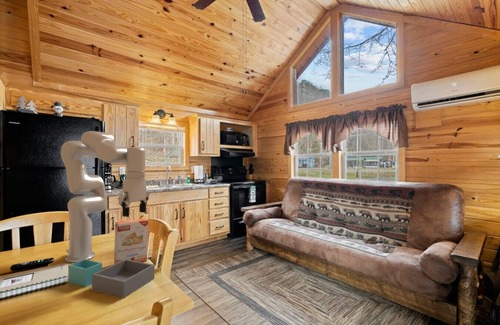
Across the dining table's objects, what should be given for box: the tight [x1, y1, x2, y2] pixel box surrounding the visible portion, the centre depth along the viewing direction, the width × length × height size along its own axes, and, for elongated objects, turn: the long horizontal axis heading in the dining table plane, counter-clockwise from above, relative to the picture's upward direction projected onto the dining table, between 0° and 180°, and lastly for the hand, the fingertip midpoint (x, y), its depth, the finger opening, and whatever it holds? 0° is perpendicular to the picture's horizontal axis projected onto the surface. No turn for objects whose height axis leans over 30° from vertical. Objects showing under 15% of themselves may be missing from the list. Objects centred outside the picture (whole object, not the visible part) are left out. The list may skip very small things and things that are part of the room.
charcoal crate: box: [91, 259, 156, 299], centre depth 99 cm, size 16×16×6 cm
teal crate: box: [67, 259, 103, 288], centre depth 101 cm, size 10×7×7 cm
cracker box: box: [113, 218, 149, 265], centre depth 119 cm, size 14×6×21 cm, turn 129°
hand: (134, 214), depth 107 cm, fingers open, 9 cm apart
